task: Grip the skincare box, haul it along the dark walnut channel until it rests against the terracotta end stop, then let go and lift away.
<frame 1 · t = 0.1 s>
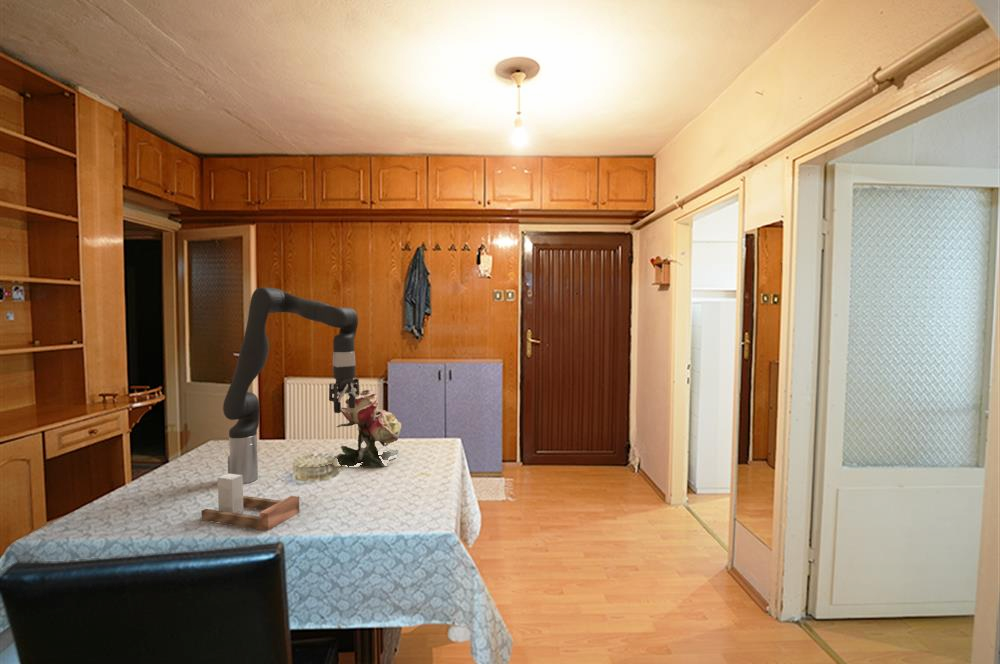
hand: (345, 410, 163), 29 cm above the table, tool pointing down, fingers open, 8 cm apart
skincare box: (231, 514, 146), on the table
rose bouquet: (371, 458, 203), on the table
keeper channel: (251, 516, 144), on the table
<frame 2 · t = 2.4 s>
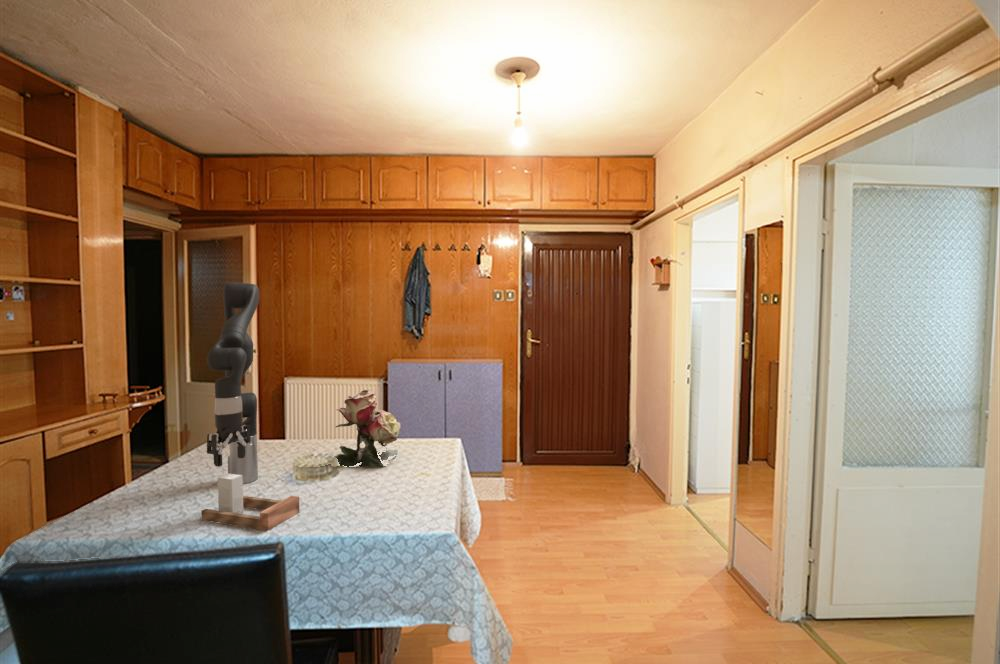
hand: (230, 461, 146), 16 cm above the table, tool pointing down, fingers open, 8 cm apart
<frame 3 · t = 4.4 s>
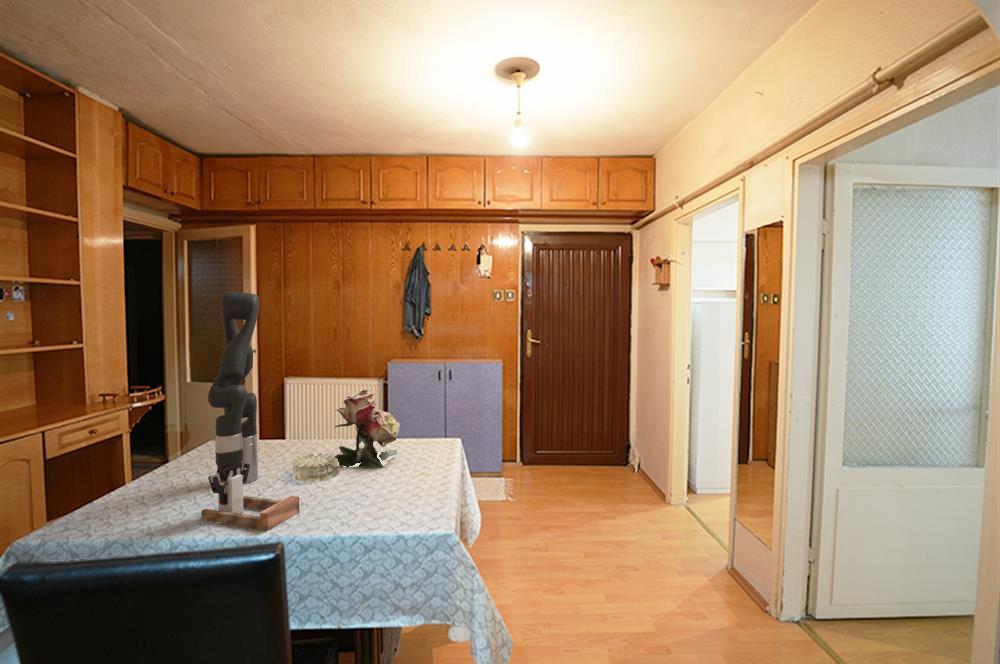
hand: (230, 501, 146), 4 cm above the table, tool pointing down, fingers closed on skincare box, 4 cm apart
skincare box: (231, 513, 146), on the table, touching gripper
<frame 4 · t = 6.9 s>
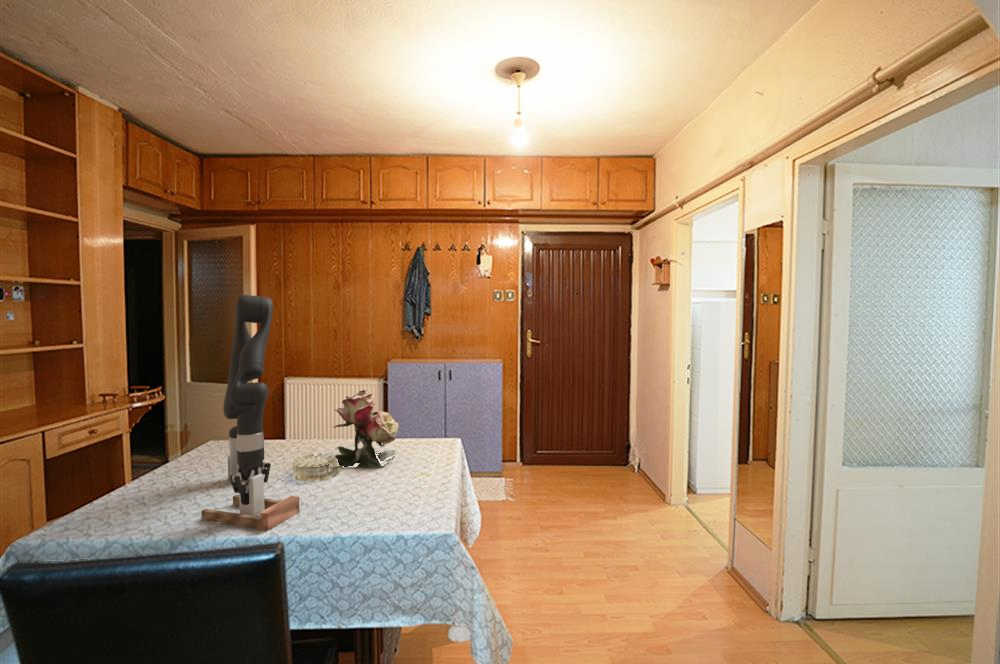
hand: (251, 501, 144), 5 cm above the table, tool pointing down, fingers closed on skincare box, 4 cm apart
skincare box: (252, 514, 144), point 1 cm above the table, touching gripper
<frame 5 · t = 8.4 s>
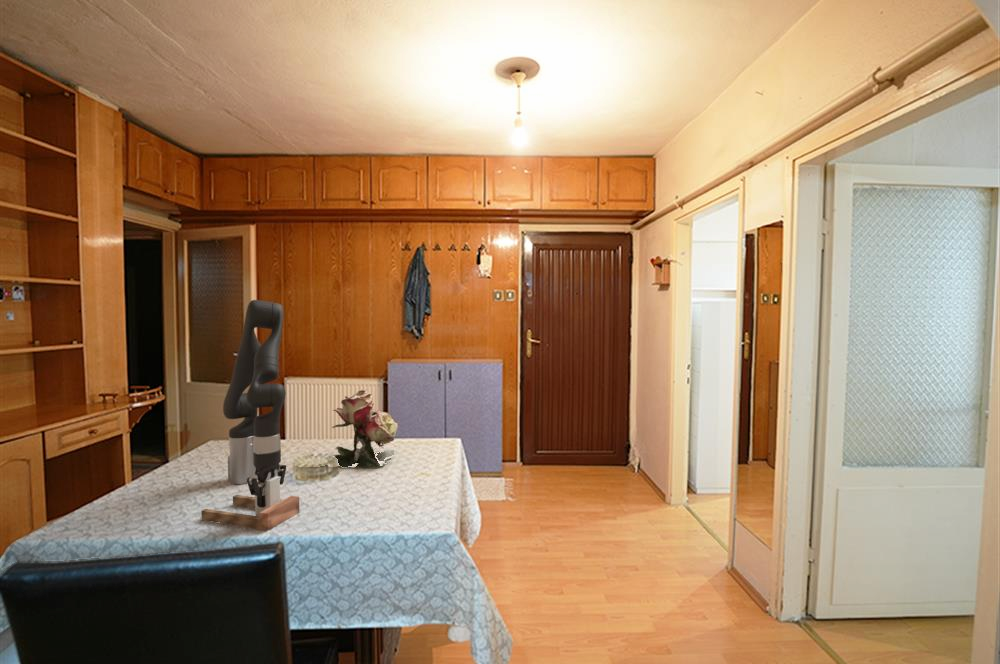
hand: (267, 503, 142), 5 cm above the table, tool pointing down, fingers closed on skincare box, 4 cm apart
skincare box: (268, 516, 142), point 1 cm above the table, touching gripper, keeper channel
when the fingers open (4 cm above the table, at t = 9.7 s): skincare box stays where it is, on the table.
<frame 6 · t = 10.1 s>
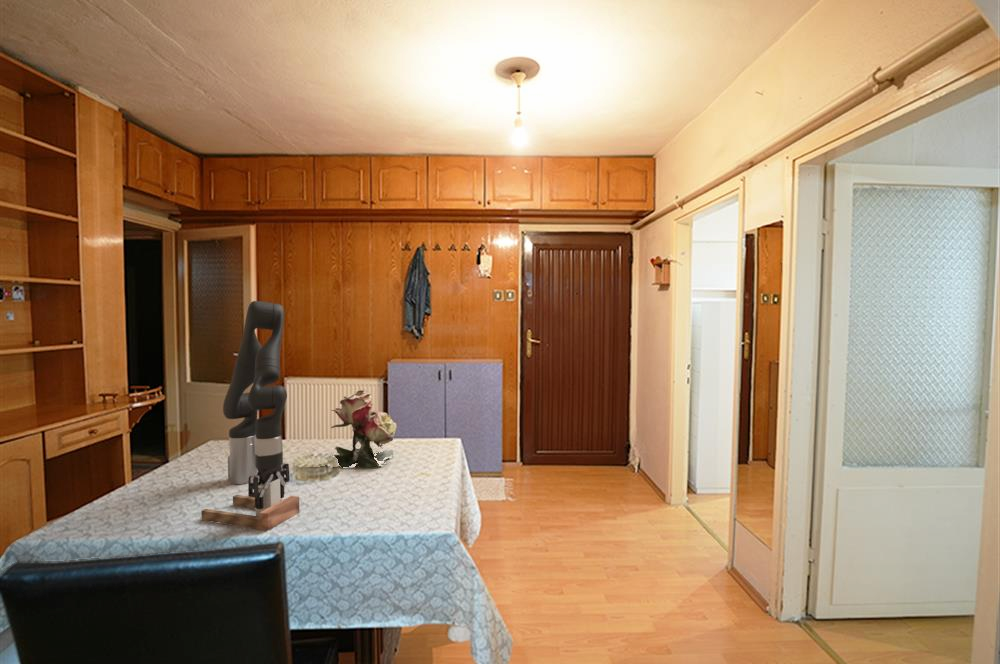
hand: (270, 503, 142), 5 cm above the table, tool pointing down, fingers open, 8 cm apart
skincare box: (268, 519, 142), on the table
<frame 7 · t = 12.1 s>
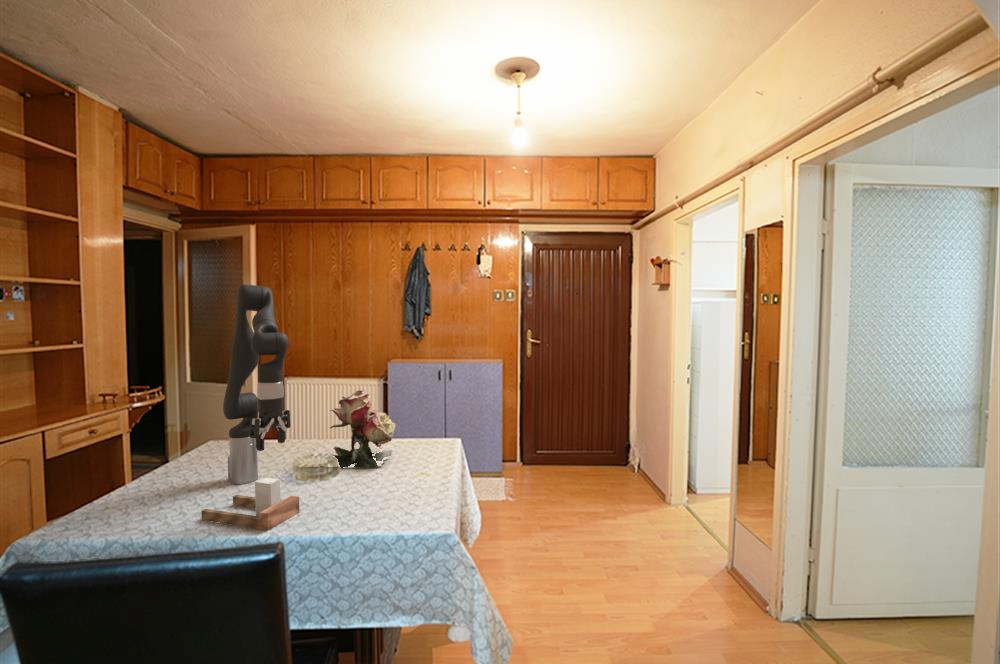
hand: (271, 446, 146), 21 cm above the table, tool pointing down, fingers open, 8 cm apart
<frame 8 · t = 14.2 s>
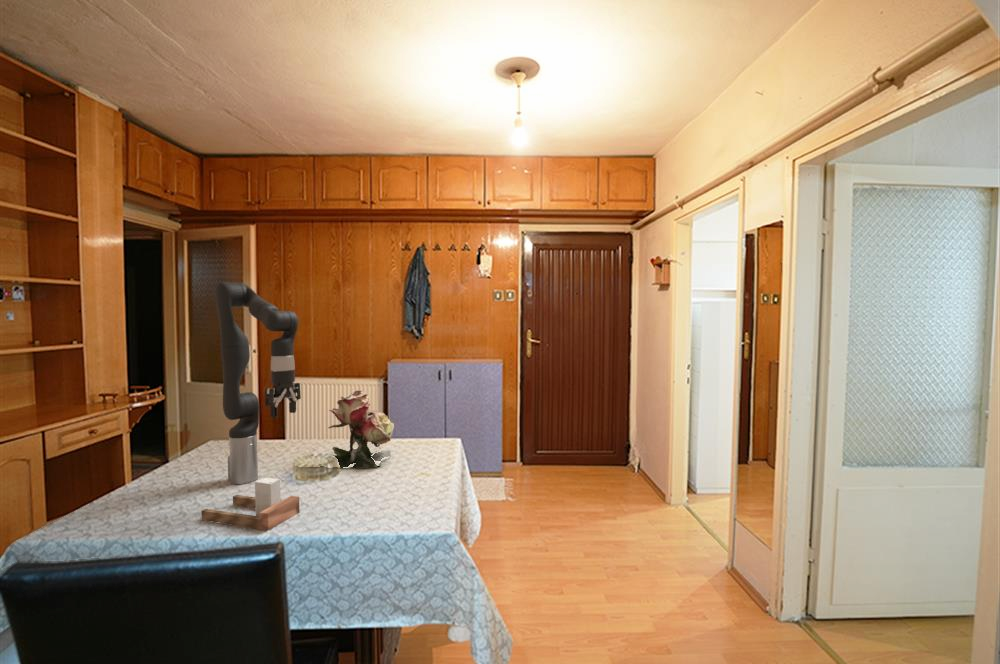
hand: (283, 415, 160), 28 cm above the table, tool pointing down, fingers open, 8 cm apart
at the end: skincare box 0.9 cm from the target spot on the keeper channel, point 0.0 cm above the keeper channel's base; skincare box tilted 0°; the gripper is holding nothing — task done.
